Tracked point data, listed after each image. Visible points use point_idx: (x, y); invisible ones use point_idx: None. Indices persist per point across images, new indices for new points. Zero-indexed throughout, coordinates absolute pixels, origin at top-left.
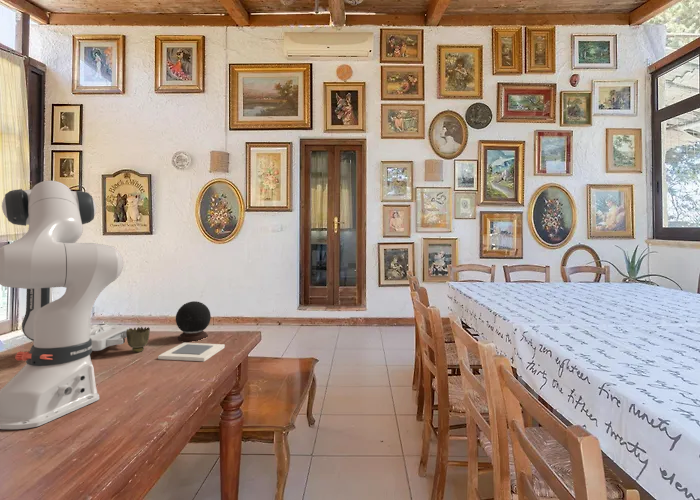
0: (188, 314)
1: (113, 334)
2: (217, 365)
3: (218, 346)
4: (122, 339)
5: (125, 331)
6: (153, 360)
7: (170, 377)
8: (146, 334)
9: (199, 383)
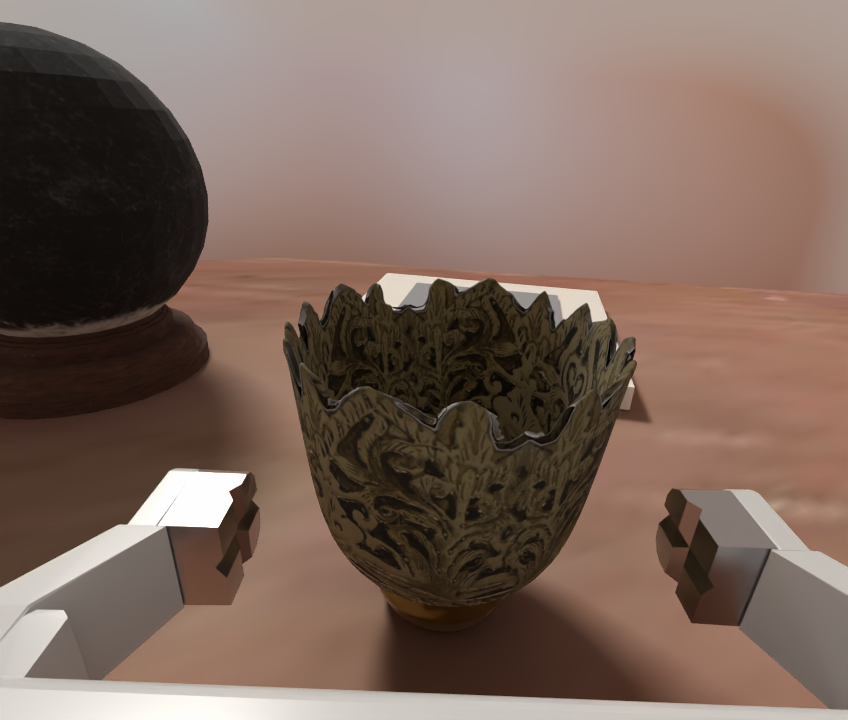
0: (176, 140)
1: (679, 709)
2: (623, 289)
3: (420, 279)
4: (739, 490)
5: (28, 671)
6: (664, 423)
7: (834, 342)
8: (490, 334)
9: (810, 300)
